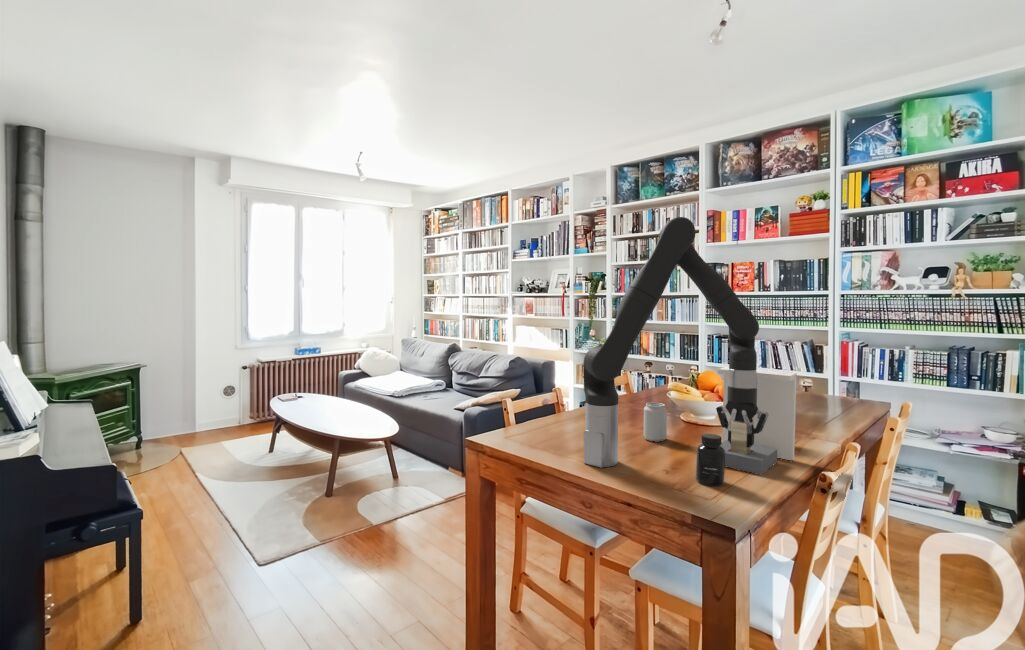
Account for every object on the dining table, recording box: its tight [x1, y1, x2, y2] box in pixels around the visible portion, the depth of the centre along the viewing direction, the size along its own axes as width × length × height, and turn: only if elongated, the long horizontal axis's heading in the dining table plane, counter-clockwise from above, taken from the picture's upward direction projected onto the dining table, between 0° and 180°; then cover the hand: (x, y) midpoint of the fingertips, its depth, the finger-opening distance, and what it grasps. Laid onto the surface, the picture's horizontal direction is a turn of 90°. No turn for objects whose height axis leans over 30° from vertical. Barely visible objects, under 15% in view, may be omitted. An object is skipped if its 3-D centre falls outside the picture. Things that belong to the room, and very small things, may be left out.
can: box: [643, 402, 668, 443], centre depth 167 cm, size 8×8×12 cm
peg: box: [731, 420, 751, 455], centre depth 141 cm, size 4×4×10 cm
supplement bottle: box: [695, 433, 726, 487], centre depth 128 cm, size 7×7×12 cm
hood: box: [717, 366, 798, 461], centre depth 149 cm, size 6×20×26 cm, turn 47°
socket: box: [720, 439, 778, 475], centre depth 143 cm, size 14×14×4 cm
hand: (740, 444), depth 141 cm, fingers closed on peg, 4 cm apart
